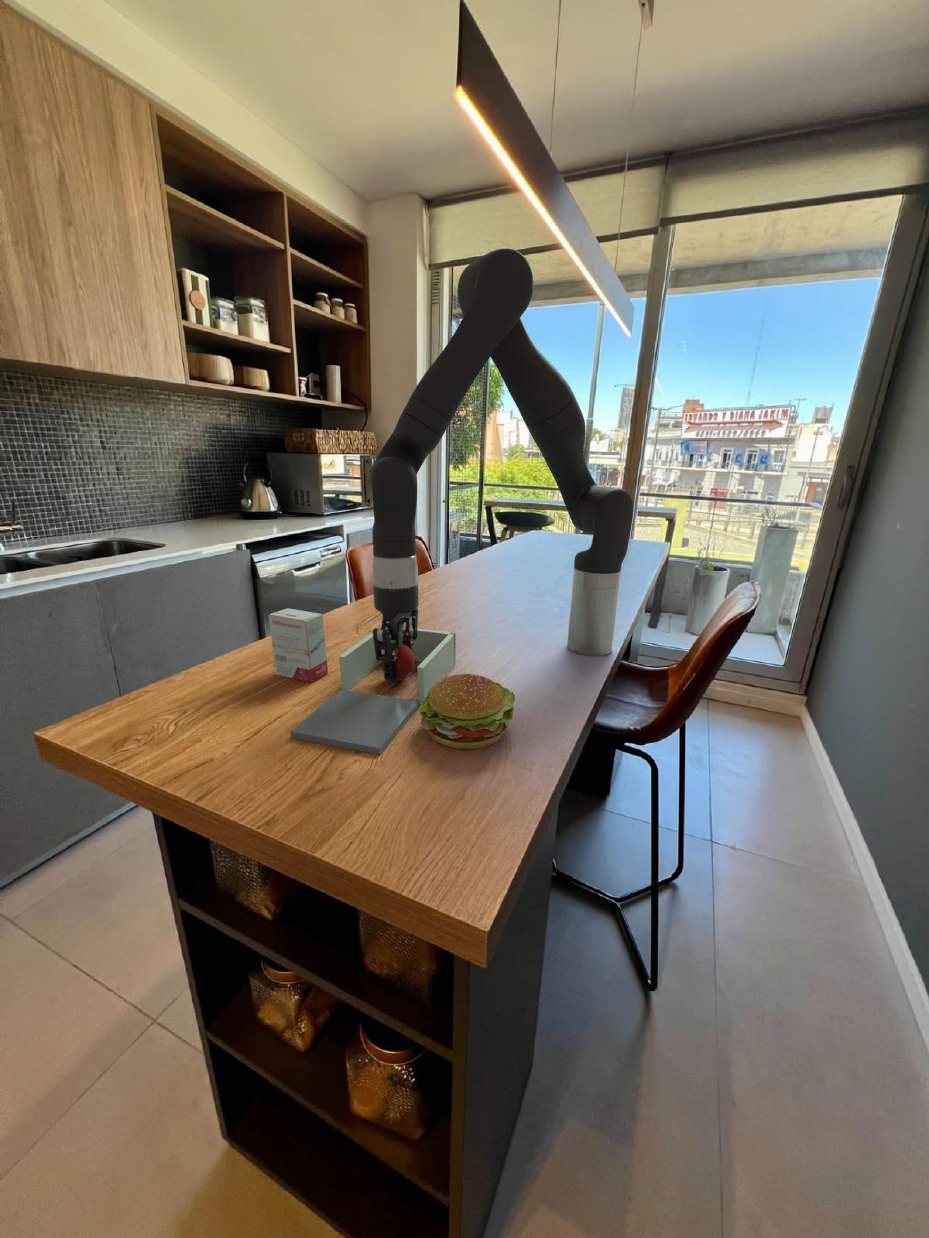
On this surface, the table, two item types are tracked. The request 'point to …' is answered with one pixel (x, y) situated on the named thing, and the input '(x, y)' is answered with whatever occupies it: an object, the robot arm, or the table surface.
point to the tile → (356, 721)
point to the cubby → (427, 649)
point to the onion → (404, 661)
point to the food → (467, 711)
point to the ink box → (298, 644)
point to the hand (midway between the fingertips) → (398, 672)
